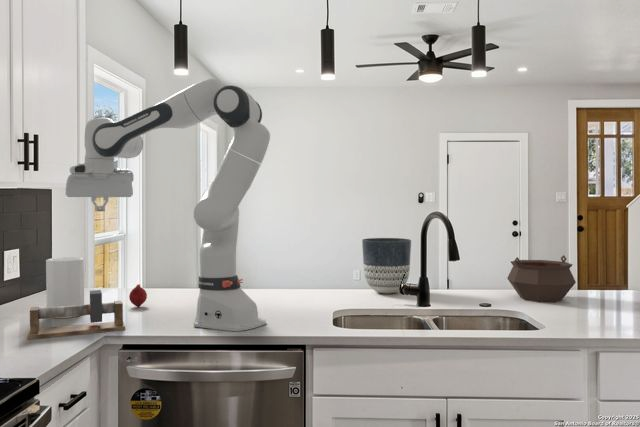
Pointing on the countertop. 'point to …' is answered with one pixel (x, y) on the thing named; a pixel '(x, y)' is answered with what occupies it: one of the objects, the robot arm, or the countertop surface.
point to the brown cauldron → (541, 279)
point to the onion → (138, 296)
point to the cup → (65, 282)
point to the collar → (96, 306)
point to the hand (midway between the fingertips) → (100, 211)
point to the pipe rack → (69, 311)
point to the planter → (386, 263)
